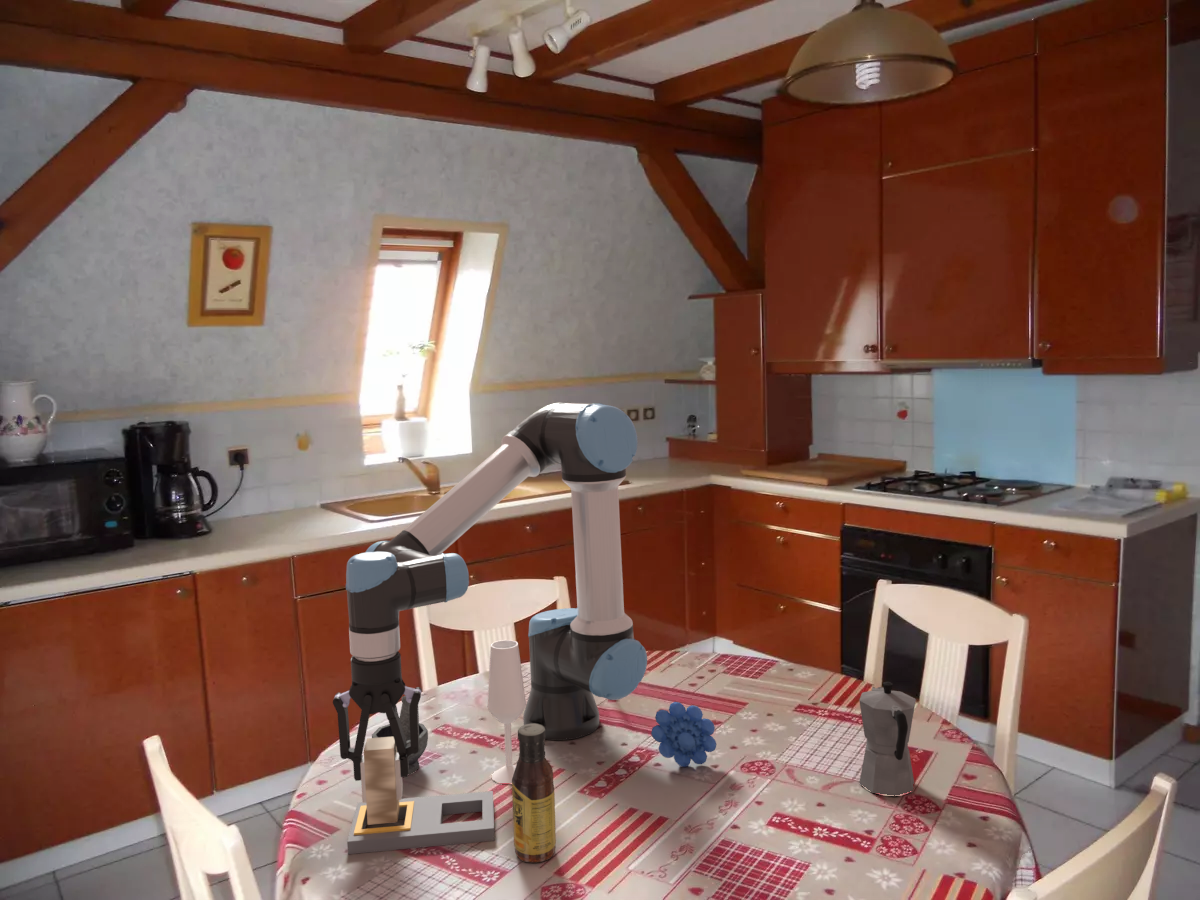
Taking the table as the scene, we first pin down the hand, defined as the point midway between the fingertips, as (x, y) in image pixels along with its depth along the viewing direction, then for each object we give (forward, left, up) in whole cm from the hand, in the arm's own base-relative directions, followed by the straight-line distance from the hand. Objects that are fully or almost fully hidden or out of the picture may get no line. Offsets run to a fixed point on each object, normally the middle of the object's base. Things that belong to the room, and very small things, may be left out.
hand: (382, 796), depth 145 cm
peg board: (-6, 0, -6) cm, 8 cm away
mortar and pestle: (-1, -22, -6) cm, 23 cm away
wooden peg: (0, 0, -3) cm, 3 cm away
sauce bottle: (-23, +11, -6) cm, 26 cm away
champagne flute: (-20, -15, -6) cm, 26 cm away
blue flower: (-51, -12, -6) cm, 53 cm away
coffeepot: (-83, +1, -6) cm, 83 cm away
